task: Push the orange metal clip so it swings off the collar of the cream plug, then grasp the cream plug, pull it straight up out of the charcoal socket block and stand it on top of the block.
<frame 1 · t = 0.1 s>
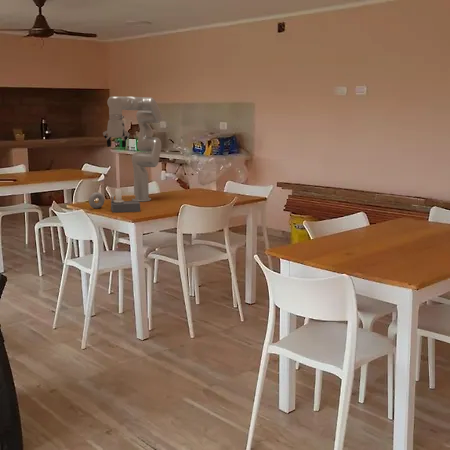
hand: (116, 146, 367), 37 cm above the table, tool pointing down, fingers open, 9 cm apart
clip: (122, 197, 368), point 7 cm above the table, hinge at 0.0°
plug: (118, 210, 366), resting in socket block
donut: (96, 208, 373), on the table
socket block: (125, 210, 367), on the table
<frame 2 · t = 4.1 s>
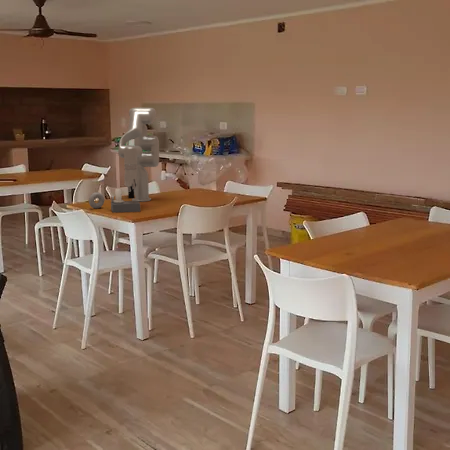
hand: (131, 198, 367), 7 cm above the table, tool pointing down, fingers closed
clip: (122, 197, 368), point 7 cm above the table, hinge at 3.7°, touching gripper
everything else where it was.
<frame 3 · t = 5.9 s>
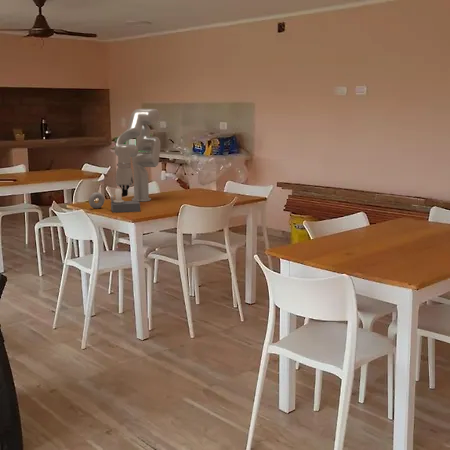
hand: (125, 195, 375), 7 cm above the table, tool pointing down, fingers closed
clip: (117, 196, 372), point 7 cm above the table, hinge at 53.2°, touching gripper
everything else where it was.
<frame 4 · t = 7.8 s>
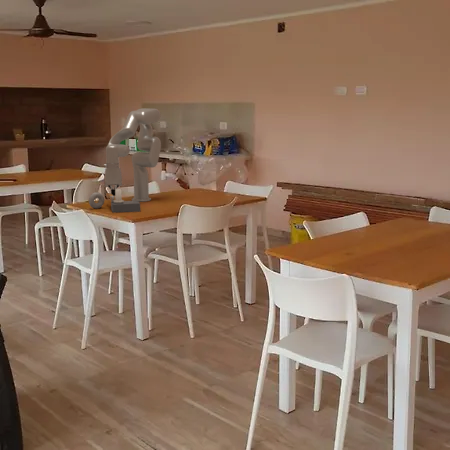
hand: (113, 195, 377), 7 cm above the table, tool pointing down, fingers closed
clip: (110, 196, 372), point 7 cm above the table, hinge at 95.8°
everything else where it was.
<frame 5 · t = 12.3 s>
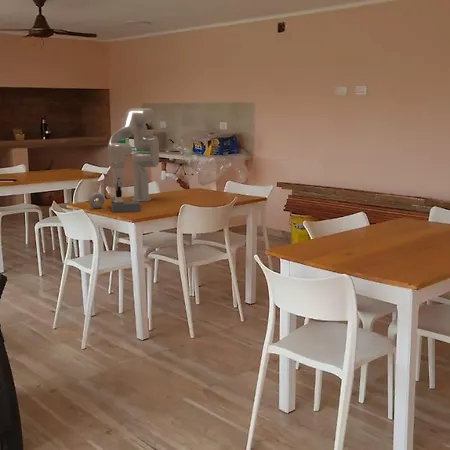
hand: (118, 196, 364), 9 cm above the table, tool pointing down, fingers closed on plug, 3 cm apart
plug: (118, 210, 366), resting in socket block, touching gripper
everything else where it was.
when the fingers open (15 cm above the table, at t = 17.9 s): plug drops 1 cm, resting on socket block.
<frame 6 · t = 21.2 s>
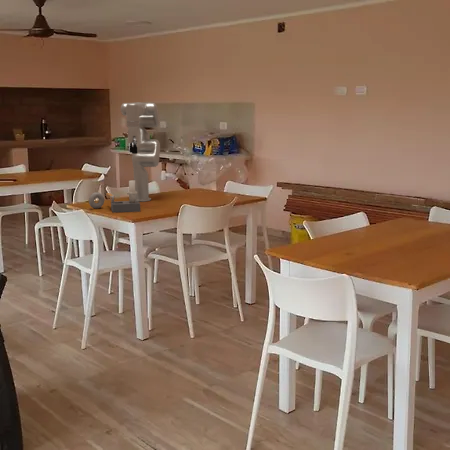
hand: (133, 152, 372), 33 cm above the table, tool pointing down, fingers open, 9 cm apart
plug: (132, 202, 367), point 5 cm above the table, touching socket block
everything else where it was.
at the end: clip at +96° (first picture: +0°); plug inside the target area (0.4 cm from its centre), point 4.8 cm above the table; plug tilted 0° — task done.
